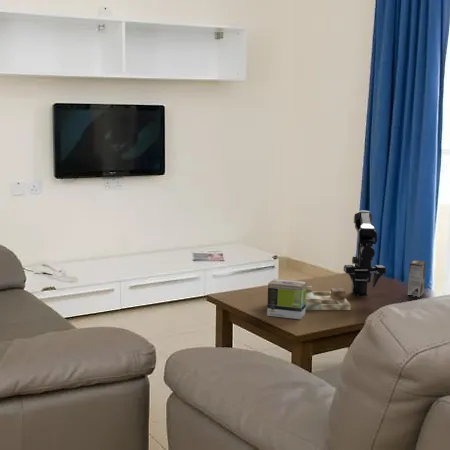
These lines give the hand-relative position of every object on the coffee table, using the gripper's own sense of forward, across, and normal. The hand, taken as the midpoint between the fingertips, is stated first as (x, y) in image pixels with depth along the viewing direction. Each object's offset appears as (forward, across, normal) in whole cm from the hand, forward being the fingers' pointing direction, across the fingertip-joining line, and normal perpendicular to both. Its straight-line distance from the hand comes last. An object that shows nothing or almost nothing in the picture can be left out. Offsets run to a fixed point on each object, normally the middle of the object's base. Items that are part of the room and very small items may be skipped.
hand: (363, 287), depth 340 cm
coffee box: (+8, -31, -16) cm, 36 cm away
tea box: (+8, +39, +19) cm, 44 cm away
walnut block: (+5, +12, 0) cm, 13 cm away
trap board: (+8, +19, 0) cm, 20 cm away
